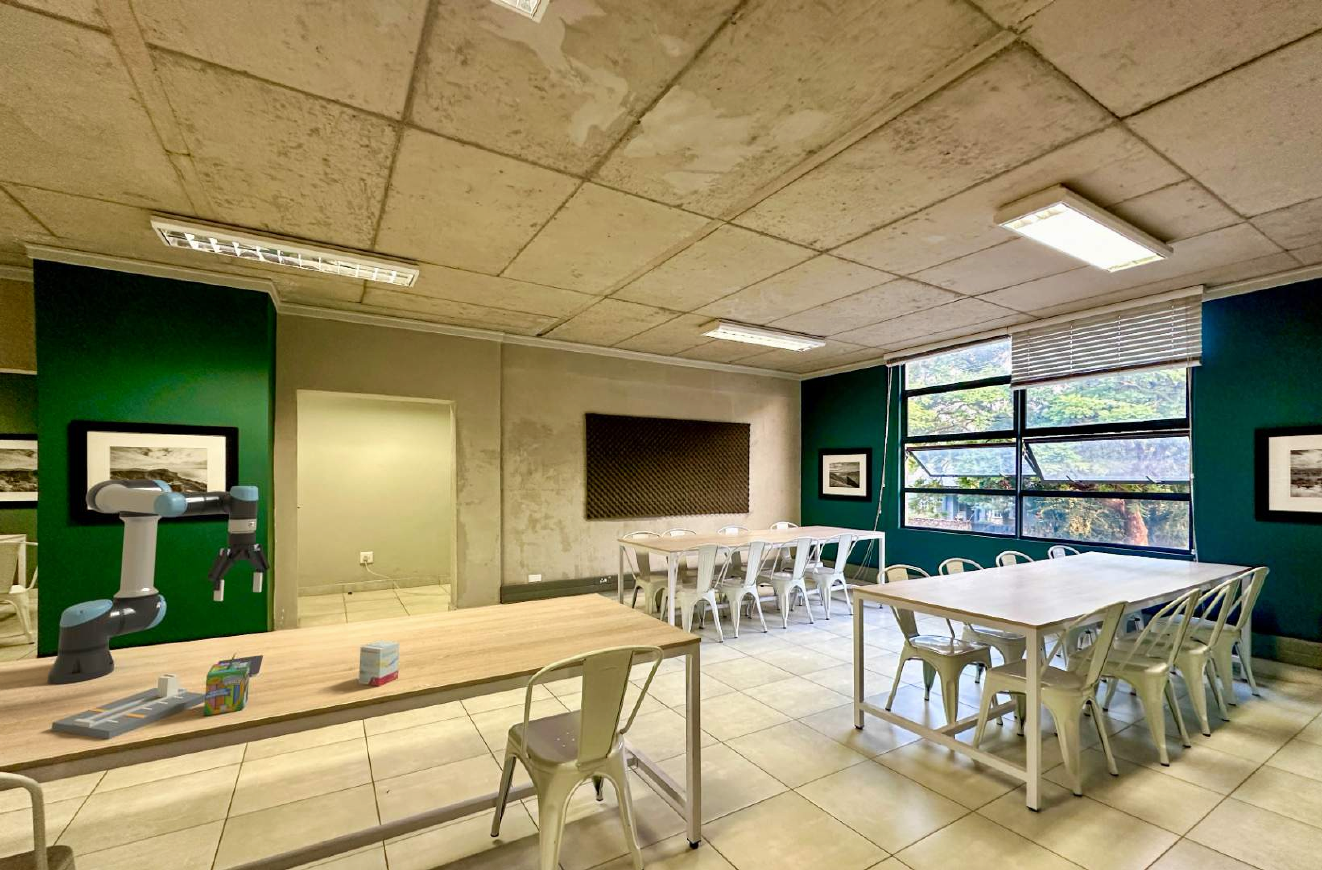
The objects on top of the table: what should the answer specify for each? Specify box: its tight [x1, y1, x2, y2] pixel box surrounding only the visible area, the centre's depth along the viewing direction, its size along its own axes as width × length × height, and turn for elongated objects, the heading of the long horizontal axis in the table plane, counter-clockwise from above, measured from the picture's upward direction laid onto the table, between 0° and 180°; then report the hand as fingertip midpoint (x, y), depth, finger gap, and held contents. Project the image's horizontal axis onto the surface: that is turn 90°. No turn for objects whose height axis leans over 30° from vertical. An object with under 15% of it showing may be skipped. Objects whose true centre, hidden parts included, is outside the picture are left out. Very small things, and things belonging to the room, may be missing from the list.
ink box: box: [358, 639, 400, 687], centre depth 180 cm, size 9×9×12 cm
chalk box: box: [203, 652, 251, 717], centre depth 159 cm, size 9×9×15 cm
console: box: [51, 686, 206, 740], centre depth 153 cm, size 20×24×3 cm
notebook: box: [217, 654, 264, 678], centre depth 188 cm, size 13×2×21 cm
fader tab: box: [157, 673, 180, 697], centre depth 162 cm, size 4×3×6 cm
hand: (238, 596), depth 183 cm, fingers open, 13 cm apart
